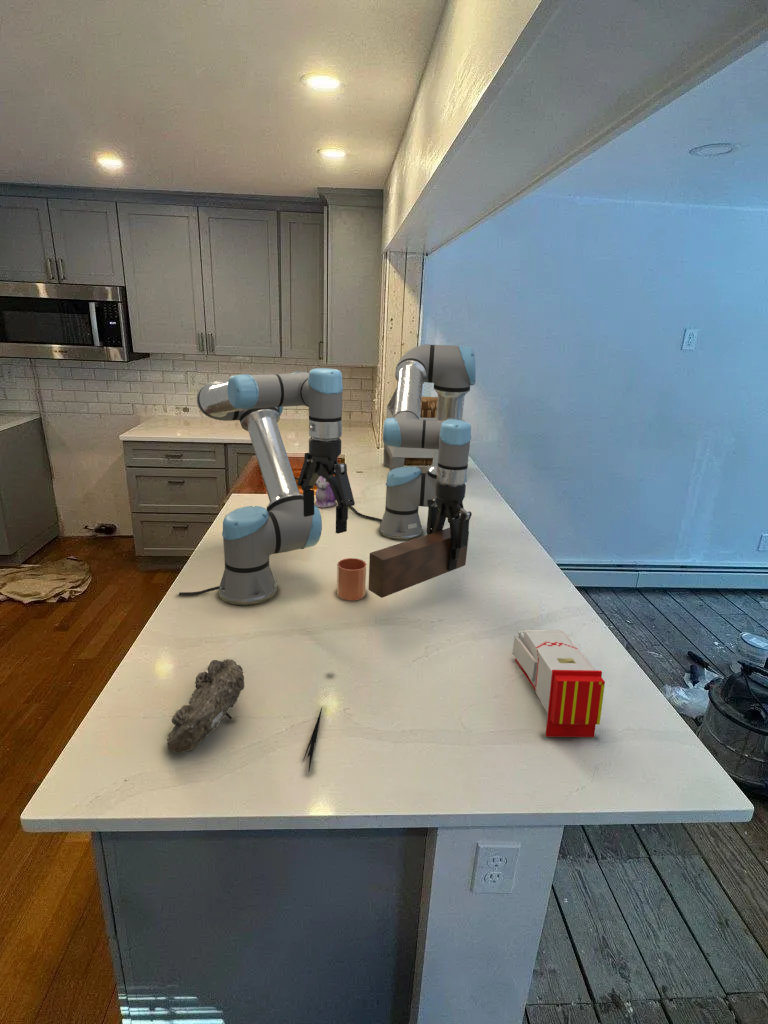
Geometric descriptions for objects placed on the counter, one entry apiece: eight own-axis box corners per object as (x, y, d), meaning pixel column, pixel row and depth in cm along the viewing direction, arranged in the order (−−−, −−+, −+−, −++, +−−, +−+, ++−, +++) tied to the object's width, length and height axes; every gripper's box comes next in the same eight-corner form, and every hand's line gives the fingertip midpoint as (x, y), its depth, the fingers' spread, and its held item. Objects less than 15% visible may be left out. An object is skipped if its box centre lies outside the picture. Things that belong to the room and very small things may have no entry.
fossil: (192, 660, 117) (244, 628, 112) (224, 691, 120) (276, 661, 115) (142, 746, 98) (202, 712, 93) (182, 779, 101) (242, 748, 96)
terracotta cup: (331, 592, 157) (331, 562, 154) (353, 584, 162) (354, 555, 159) (348, 603, 152) (349, 573, 149) (371, 595, 157) (372, 565, 154)
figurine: (319, 509, 219) (319, 472, 214) (309, 501, 228) (309, 465, 223) (341, 506, 224) (342, 470, 218) (331, 499, 232) (332, 463, 227)
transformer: (382, 463, 289) (386, 382, 275) (445, 464, 293) (451, 384, 279) (390, 482, 257) (394, 392, 243) (460, 483, 261) (468, 394, 247)
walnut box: (381, 598, 135) (383, 560, 132) (368, 589, 139) (369, 552, 135) (465, 565, 154) (469, 531, 150) (452, 558, 157) (455, 525, 154)
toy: (559, 614, 131) (614, 677, 102) (553, 667, 134) (605, 744, 105) (507, 613, 131) (547, 676, 102) (503, 666, 134) (541, 743, 104)
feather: (331, 679, 122) (336, 673, 122) (307, 777, 96) (313, 769, 95) (324, 675, 122) (329, 669, 121) (298, 772, 95) (304, 764, 95)
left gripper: (282, 429, 137) (284, 511, 145) (344, 451, 120) (342, 543, 127) (308, 426, 142) (308, 506, 149) (371, 446, 125) (368, 536, 132)
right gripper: (415, 475, 147) (410, 557, 156) (468, 494, 135) (459, 582, 143) (436, 471, 152) (430, 550, 160) (488, 489, 139) (479, 574, 148)
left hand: (324, 523), depth 138 cm, fingers open, 13 cm apart
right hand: (443, 565), depth 151 cm, fingers closed on walnut box, 5 cm apart
